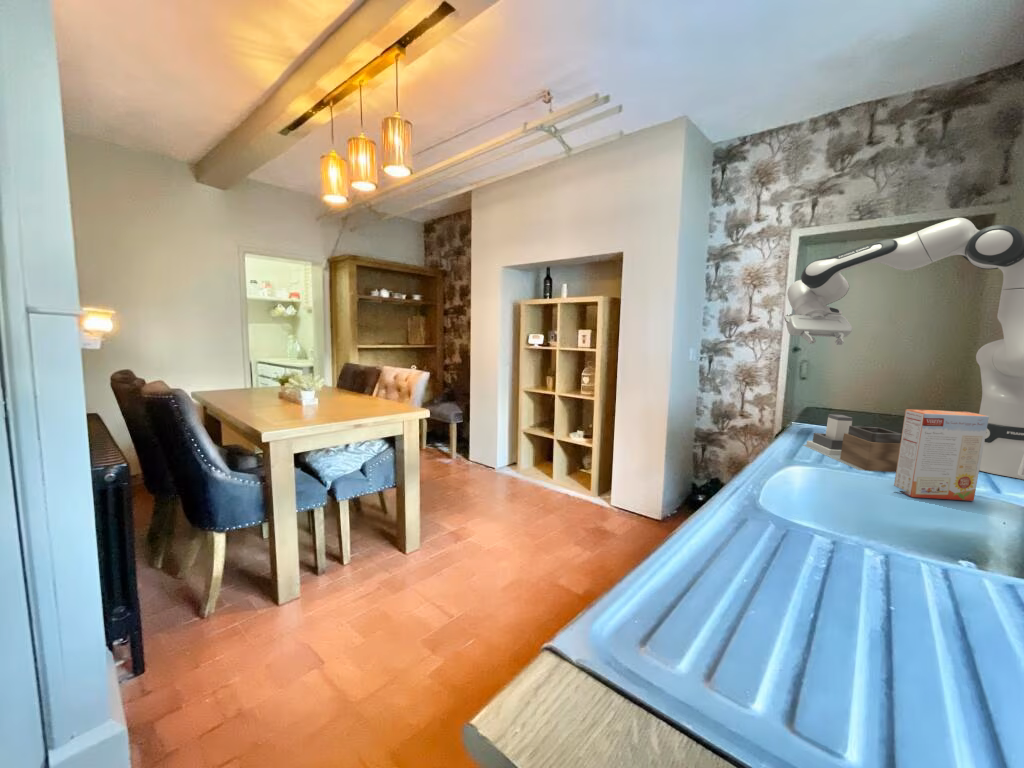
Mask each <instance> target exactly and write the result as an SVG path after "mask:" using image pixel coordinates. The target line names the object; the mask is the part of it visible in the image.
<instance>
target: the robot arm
mask: <svg viewBox="0 0 1024 768" xmlns="http://www.w3.org/2000/svg"><path fill="white" fill-rule="evenodd" d="M957 255H958V256H959V255H960V256H961V257H963V258H964V259H965V260H967V261H968V262H969V263H970V264H971V265H973V266H974V267H976V268H978V269H981V270H997V269H998V270H1000V271H1001V272H1002V275H1003V276H1002V278H1003V279H1002V284H1001V285H1002V286H1001V292H1000V298H999V303H998V309H997V310H998V311H997V314H996V315H997V321H998V322H999V323H1000V326H1001V329H1002V335H1003V338H1001V339H997V340H993V341H990V342H988V343H986V344H984V345H983V346H981V347H979V348H978V350H977V352H976V354H975V359H976V363H977V364H978V365H979V370H980V380H981V389H982V390H981V393H982V394H981V401H980V405H979V412H978V414H980V415H985V416H989V419H988V425H987V430H986V436H985V441H984V447H983V452H982V458H981V464H980V469H979V472H983V473H984V472H985V473H989V474H992V475H993V474H994V475H998V476H1005V477H1010V478H1013V479H1015V478H1016V479H1018V480H1024V233H1023V232H1022V231H1021V230H1020V229H1018V227H1015V226H1012V225H1010V224H995V225H990V226H987V227H983V228H981V229H978V228H977V227H976V225H974V223H973V222H972V221H971V220H969V219H967V218H965V217H955V218H951V219H948V220H945V221H942V222H939V223H936V224H933V225H930V226H927V227H925V228H923V229H920V230H918V231H915V232H913V233H910V234H907V235H904V236H901V237H897V238H885V239H880V240H876V241H873V242H870V243H866V244H864V245H862V246H859V247H855V248H854V249H853V248H852V249H850V250H847V251H845V252H841V253H839V254H836V255H832V256H829V257H825V258H820V259H816V260H814V261H812V262H810V263H809V264H807V265H806V266H805V268H804V269H803V270H802V272H801V276H800V279H798V280H795V281H794V282H793V283H791V284H790V285H789V287H788V289H787V294H786V296H787V300H788V302H789V304H790V306H791V308H792V310H794V313H793V314H792V313H788V314H786V315H785V316H784V321H785V323H786V329H787V332H788V334H790V335H791V336H798V337H801V338H802V339H804V340H805V341H807V343H808V344H809V345H810V344H811V345H814V344H815V343H816V341H817V340H816V339H815V337H826V338H827V337H828V338H835V339H836V340H835V341H834V342H835V344H836V345H837V346H842V345H843V344H844V343H845V340H844V339H843V338H847V337H848V336H849V335H850V334H851V333H852V331H853V327H852V325H851V323H850V322H849V320H848V319H847V317H845V316H844V315H842V314H843V310H841V309H839V308H836V307H831V306H829V305H830V304H832V303H835V302H837V301H839V300H841V299H842V298H844V297H845V296H846V295H847V294H848V293H849V290H850V284H849V282H848V280H847V279H846V278H845V276H844V275H843V274H842V272H844V271H848V270H851V269H853V268H854V269H855V268H856V267H860V266H864V265H866V264H872V263H874V264H876V263H877V264H883V265H886V266H889V267H891V268H894V269H895V270H899V271H912V270H916V269H920V268H922V267H923V268H924V267H925V266H927V265H930V264H933V263H935V262H936V263H937V262H938V261H940V260H943V259H945V258H948V257H952V256H957Z"/></svg>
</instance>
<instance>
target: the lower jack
mask: <svg viewBox="0 0 1024 768" xmlns="http://www.w3.org/2000/svg"><path fill="white" fill-rule="evenodd" d="M825 435H826V433H823V432H822V433H821V432H820V433H819V432H818V433H817V432H814V433H813V435H812V436H813V437H812V440H806V445H808V446H810V447H812V448H815V449H817V450H819V451H821V452H824V453H826V454H828V455H841V450H842V443H843V440H837V439H831V438H829V437H826V436H825Z"/></svg>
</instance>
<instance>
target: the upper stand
mask: <svg viewBox="0 0 1024 768" xmlns="http://www.w3.org/2000/svg"><path fill="white" fill-rule="evenodd" d="M901 437H902V433H900V432H896V431H892V430H889V429H886V428H882V427H878V426H874V427H873V426H858V425H857V426H855V425H854V426H853V425H852V426H849V432H848V434H846V433H844V437H843V443H842V450H841V456H840V459H841V460H843V461H846V462H848V463H850V464H853V465H855V466H857V467H859V468H862V469H864V470H863V471H865V470H869V472H870V471H871V472H884V471H888V473H896V470H897V463H898V456H899V450H900V443H901Z"/></svg>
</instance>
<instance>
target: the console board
mask: <svg viewBox="0 0 1024 768" xmlns="http://www.w3.org/2000/svg"><path fill="white" fill-rule="evenodd" d="M802 446H804V447H806V448H808V449H810V450H812V451H814V452H817V453H819V454H822V455H824V456H826V457H828V458H831V459H832V460H835V461H837V462H840V463H842V464H843V465H846V466H848V467H850V468H853V469H855V470H857V471H867V472H868V471H869V470H864V469H862V468H859V467H857V466H855V465H853V464H850V463H848V462H846V461H843V460H841V459H840V456H841V455H828V454H826V453H824V452H821V451H819V450H817V449H815V448H812V447H810V446H808V445H807V444H802ZM869 472H870V471H869ZM883 472H888V471H883ZM888 473H889V472H888Z"/></svg>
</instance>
